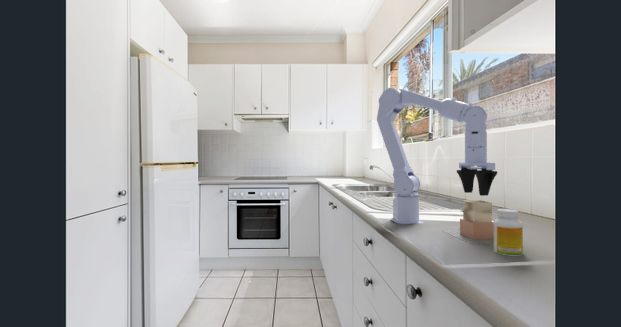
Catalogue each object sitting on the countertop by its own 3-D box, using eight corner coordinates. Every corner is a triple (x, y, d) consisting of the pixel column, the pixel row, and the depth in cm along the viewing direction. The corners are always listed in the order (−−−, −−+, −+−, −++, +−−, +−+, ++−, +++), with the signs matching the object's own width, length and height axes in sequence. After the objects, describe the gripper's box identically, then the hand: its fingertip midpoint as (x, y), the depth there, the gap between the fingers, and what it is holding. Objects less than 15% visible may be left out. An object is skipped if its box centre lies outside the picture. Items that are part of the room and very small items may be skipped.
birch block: (463, 219, 85) (463, 200, 85) (480, 218, 86) (480, 200, 86) (473, 222, 80) (473, 203, 80) (491, 222, 81) (491, 202, 81)
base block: (460, 233, 86) (459, 218, 86) (481, 233, 86) (481, 218, 86) (473, 239, 80) (473, 223, 80) (495, 238, 80) (495, 222, 80)
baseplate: (442, 232, 90) (441, 230, 90) (482, 231, 91) (482, 229, 91) (471, 246, 76) (471, 243, 76) (518, 244, 77) (518, 242, 77)
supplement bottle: (528, 258, 66) (528, 212, 66) (502, 258, 66) (502, 212, 66) (512, 251, 72) (512, 208, 71) (488, 251, 72) (488, 208, 72)
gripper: (505, 146, 86) (505, 196, 87) (473, 148, 101) (474, 191, 101) (481, 146, 86) (481, 197, 86) (452, 148, 100) (452, 191, 100)
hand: (475, 193), depth 93 cm, fingers open, 7 cm apart
